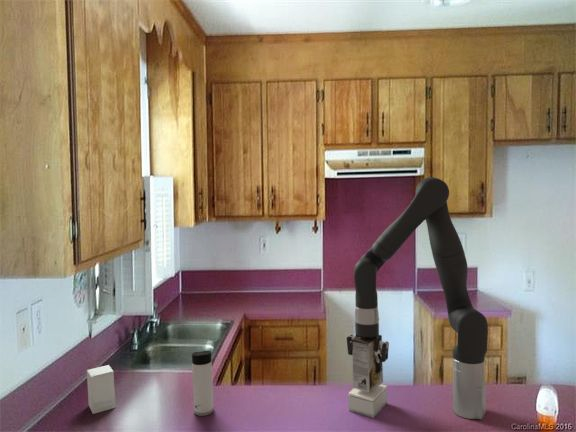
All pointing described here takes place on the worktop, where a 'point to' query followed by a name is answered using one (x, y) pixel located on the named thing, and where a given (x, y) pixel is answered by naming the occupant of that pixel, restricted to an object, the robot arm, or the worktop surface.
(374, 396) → the lid
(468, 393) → the robot arm
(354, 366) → the coffee box
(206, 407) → the travel mug
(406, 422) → the worktop surface
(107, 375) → the supplement box
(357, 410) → the white box
